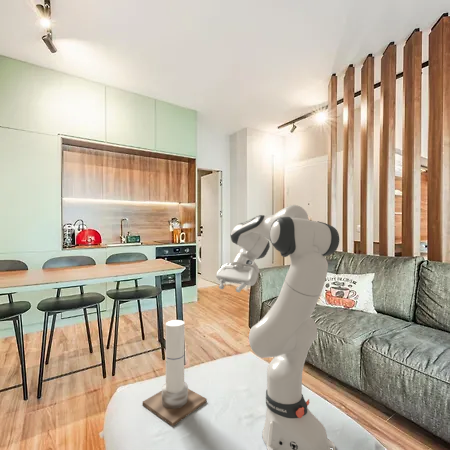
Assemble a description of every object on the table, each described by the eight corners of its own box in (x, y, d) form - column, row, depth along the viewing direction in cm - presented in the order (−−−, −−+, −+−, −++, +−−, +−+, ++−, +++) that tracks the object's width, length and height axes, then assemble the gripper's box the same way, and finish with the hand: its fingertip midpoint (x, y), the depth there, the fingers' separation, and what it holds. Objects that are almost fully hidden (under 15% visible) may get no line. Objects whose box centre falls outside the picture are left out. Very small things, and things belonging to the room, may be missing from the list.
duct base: (206, 401, 106) (206, 385, 106) (172, 426, 93) (172, 408, 93) (176, 384, 117) (176, 370, 117) (142, 404, 104) (142, 388, 104)
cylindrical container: (174, 395, 100) (174, 327, 100) (161, 388, 104) (161, 323, 105) (188, 386, 106) (188, 322, 106) (175, 380, 110) (175, 318, 110)
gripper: (221, 259, 130) (207, 282, 122) (257, 262, 117) (244, 288, 109) (227, 267, 133) (214, 290, 126) (263, 271, 121) (250, 297, 113)
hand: (228, 289), depth 118 cm, fingers open, 8 cm apart
